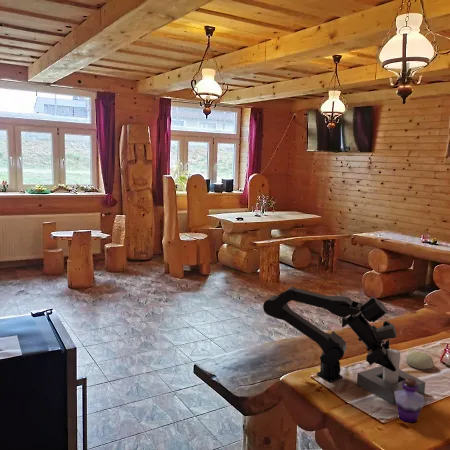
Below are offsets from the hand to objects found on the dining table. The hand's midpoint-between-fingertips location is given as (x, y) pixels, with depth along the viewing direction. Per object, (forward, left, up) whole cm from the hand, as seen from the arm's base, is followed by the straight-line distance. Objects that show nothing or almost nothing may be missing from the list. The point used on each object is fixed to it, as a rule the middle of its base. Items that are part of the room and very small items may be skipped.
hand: (395, 367), depth 147 cm
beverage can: (-1, -1, -7) cm, 7 cm away
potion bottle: (+13, -10, -8) cm, 19 cm away
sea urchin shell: (-8, +23, -8) cm, 26 cm away
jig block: (-1, -1, -8) cm, 8 cm away
